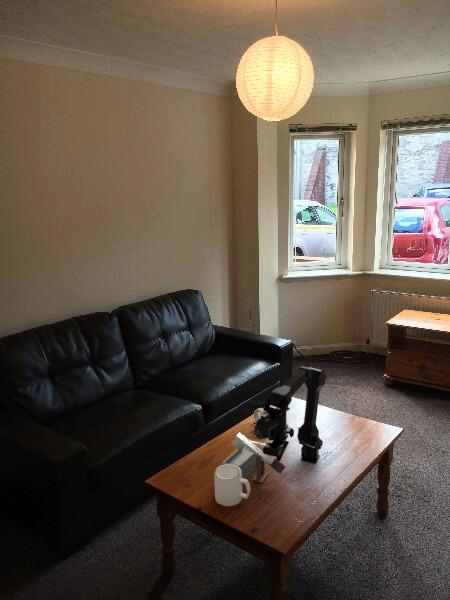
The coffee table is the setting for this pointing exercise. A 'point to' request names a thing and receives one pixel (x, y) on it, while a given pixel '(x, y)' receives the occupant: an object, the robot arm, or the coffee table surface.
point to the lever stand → (260, 470)
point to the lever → (257, 452)
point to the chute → (242, 461)
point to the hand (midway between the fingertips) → (278, 460)
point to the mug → (229, 485)
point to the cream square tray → (260, 445)
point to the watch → (258, 417)
